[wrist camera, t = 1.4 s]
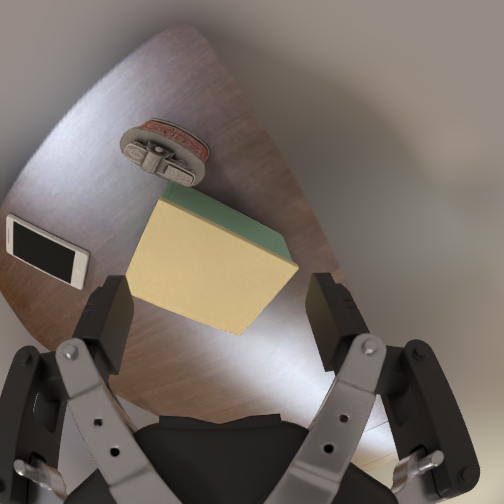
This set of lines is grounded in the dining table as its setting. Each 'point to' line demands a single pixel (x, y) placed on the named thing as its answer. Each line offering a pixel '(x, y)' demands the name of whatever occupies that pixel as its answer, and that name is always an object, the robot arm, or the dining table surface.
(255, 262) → the lunchbox lid
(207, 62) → the dining table surface
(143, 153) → the lighter
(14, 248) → the smartphone
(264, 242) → the box
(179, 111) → the dining table surface
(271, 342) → the dining table surface
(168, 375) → the dining table surface
